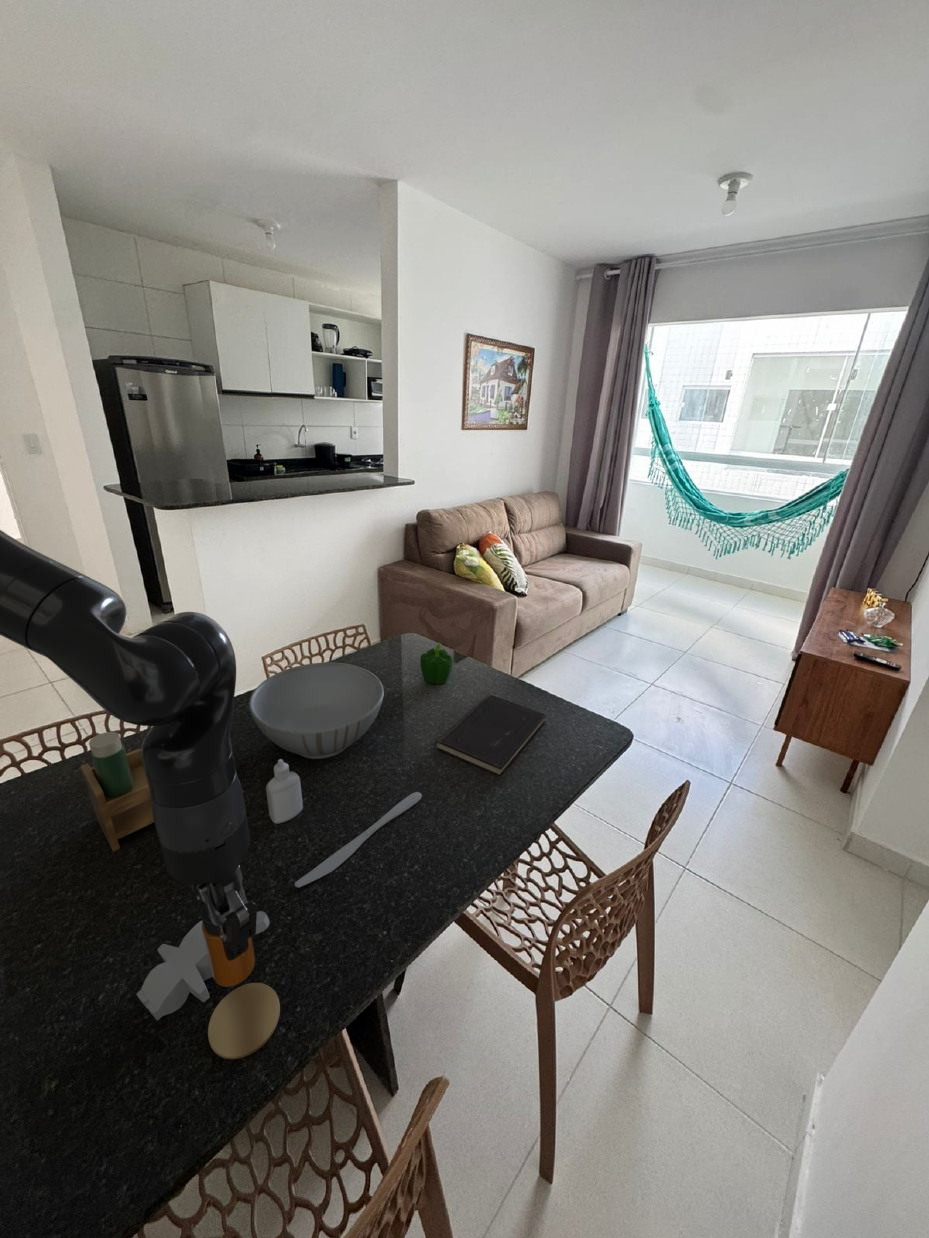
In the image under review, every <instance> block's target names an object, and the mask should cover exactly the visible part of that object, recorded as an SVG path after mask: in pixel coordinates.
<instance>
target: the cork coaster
mask: <svg viewBox="0 0 929 1238" xmlns="http://www.w3.org/2000/svg"><path fill="white" fill-rule="evenodd" d="M280 1014H281V1004H280V998H279V996H278V994H277V992H276V991H275V990H274V989H273V988H272V987H271V986H269V985H268V984H265V983H262V982H250V983H246V984H243V985H241V986H238V987H236V988H234V989H232V990H231V991H230V992H228V994H227V995H225V997H223V998H222V999H221V1000H220V1001H219V1003H218V1004H217V1006H216V1007H215V1008H214V1011H213V1012H212V1014H211V1016H210V1018H209V1022H208V1026H207V1038H208V1044H209V1045H210V1048H211V1049H212V1051H213V1052H214V1053H215V1054H216V1055H217V1056H218V1057H219V1058H222V1059H226V1060H240V1059H242V1058H246V1057H248V1056H251V1055H252V1054H254V1053H255V1052H257V1051H258V1050H259V1049H261V1048H262V1047H263V1046H264V1045H265V1044H266V1043H267V1042H268V1040H269V1039H270V1038H271V1037H272V1035H273V1033H274V1032H275V1030H276V1029H277V1026H278V1023H279V1019H280V1016H281V1015H280Z"/></svg>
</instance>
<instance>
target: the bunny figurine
mask: <svg viewBox="0 0 929 1238" xmlns="http://www.w3.org/2000/svg"><path fill="white" fill-rule="evenodd" d="M269 926H270V918H269V916H268V915H267V913H266V912H264V911H262V910H258V911H257V919H256V934H255V935H258V934H260V933H263V932H264V931H266V930H267V929H268V928H269ZM255 935H254V936H255ZM157 953H158V954H159V957H161V959H162V960H163V962H162V963H159V964H157V965H156V966H155V967H154V968H152V969H151V970H150V971H149V973H148V975H147V976H146V978H145V979H144V982H143V983H142V985H141V986H142V987H141V989H140V990H139V991H137V992H136V996H137V998H138V999H139V1001H140V1002H141V1003H142V1004H143V1006H144V1007H145V1008H146V1009H147V1010H148V1011H149V1013H150V1014H151V1015H152V1016H153V1017H154V1019H155V1020H156V1021H157V1022H158V1021H159V1020H160V1019H161V1018H162V1017H165V1016H167V1015H171V1014H173V1013H175V1012H176V1011H177V1010H180V1009H181V1008H182V1006H183V1005H184V1004H185V1003H186V1001H187V1000H188V997H189V995H190V993H191V994H192V995H193V996H194V997H196V998H197V999H198V1000H200V1001H201V1002H202V1003H205V1002H206V1001H207V1000H209V999H210V998H211V996H210V993H209V991H208V988H207V986H206V983H205V981H207V980H209V979H211V978H213V974H212V969H211V965H210V961H209V957H208V953H207V948H206V944H205V940H204V936H203V932H202V920H200V921H199V922H198V923H196V924H195V925H194V926H193V927H192V928H191V929H190V930H189V931H188V933H187V934H186V935H185V936H184V937H183V939H182V941H181V942H180V944H179V945H178V947H177V946H174V945H169V944H167V943H166V944H165V943H161V945H160V946H159V947H158V948H157Z"/></svg>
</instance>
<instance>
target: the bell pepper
mask: <svg viewBox="0 0 929 1238" xmlns="http://www.w3.org/2000/svg"><path fill="white" fill-rule="evenodd" d="M441 646H442V643H440V642H439V643H437V644H436V646H435V647H432V648H431V649H429V650H427V651H426V653H421V655H420V657H419V658H420V659H419V660H420V661H419V662H420V663H419V665H420V669H421V674H422V677H423V680H424V682H426V683H427V684H429V685H434V684H436V685H443V684H446V683H447V681H448V680H449V678H450V675H451V672H452V668H453V657H452V655H451V654H449V653H448V652H447V650H445V649H444V648H442V649H441Z"/></svg>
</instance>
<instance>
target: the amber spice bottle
mask: <svg viewBox="0 0 929 1238" xmlns="http://www.w3.org/2000/svg"><path fill="white" fill-rule="evenodd" d="M225 905H226V904H225ZM222 907H223V906H222ZM219 908H221V907H215V910H218V909H219ZM200 918H201V921H202V932H203V936H204V940H205V944H206V948H207V953H208V957H209V961H210V965H211V969H212V974H213V977H212V978H213V980H214V982H215V983H216V984H217V985H219V986H220V987H225V988H227V987H228V988H229V987H234V986H237V985H239V984H241V983H242V982H244V981H245V980H246V979H247V978H248V977H249V976H250V975H251V973H252V971H253V970H254V967H255V964H256V955H255V954H256V953H255V949H254V942H253V938H252V937H253V936H252V937H250V938H248V944H249V946H248V948H247V951H245V952H244V953H243V954H241V955H240V956H238V957H237V958H236V959H233V960H231V961H228V959H227V957H226V956H225V952H224V948H223V943H222V940H221V938H220V932H219V929H218V926H217V925H214V924H213V923H212V922H211V920H210V919H209V917H208V913H207V910H206V907H205V904H203V906H202V905H201V909H200ZM225 925H226V922H225Z"/></svg>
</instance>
